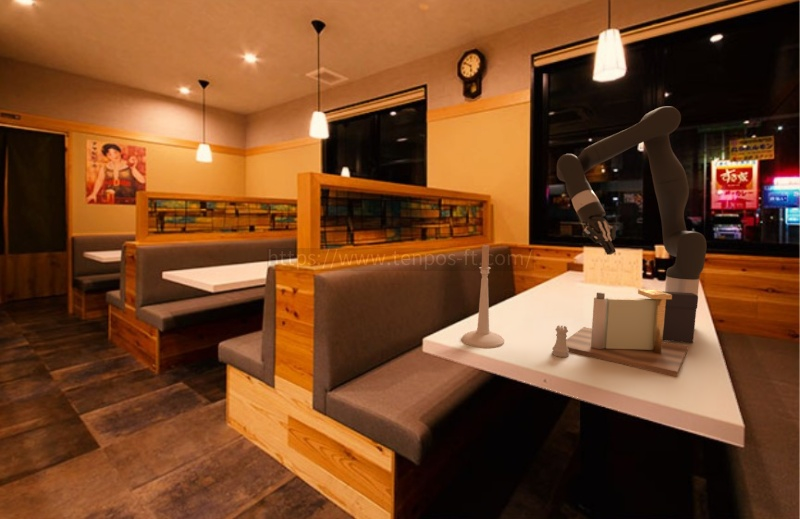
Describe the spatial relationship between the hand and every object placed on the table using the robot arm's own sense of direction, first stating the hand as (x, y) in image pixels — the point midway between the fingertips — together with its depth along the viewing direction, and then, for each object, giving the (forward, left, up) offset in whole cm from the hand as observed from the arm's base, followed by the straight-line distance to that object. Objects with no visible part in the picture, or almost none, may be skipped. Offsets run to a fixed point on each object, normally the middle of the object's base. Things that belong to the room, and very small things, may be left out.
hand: (611, 253), depth 118 cm
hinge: (+13, +7, -25) cm, 29 cm away
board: (+10, +7, -27) cm, 29 cm away
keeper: (+8, +13, -27) cm, 31 cm away
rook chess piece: (+26, -5, -27) cm, 38 cm away
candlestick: (+30, -27, -27) cm, 49 cm away
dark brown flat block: (-10, +16, -27) cm, 33 cm away
